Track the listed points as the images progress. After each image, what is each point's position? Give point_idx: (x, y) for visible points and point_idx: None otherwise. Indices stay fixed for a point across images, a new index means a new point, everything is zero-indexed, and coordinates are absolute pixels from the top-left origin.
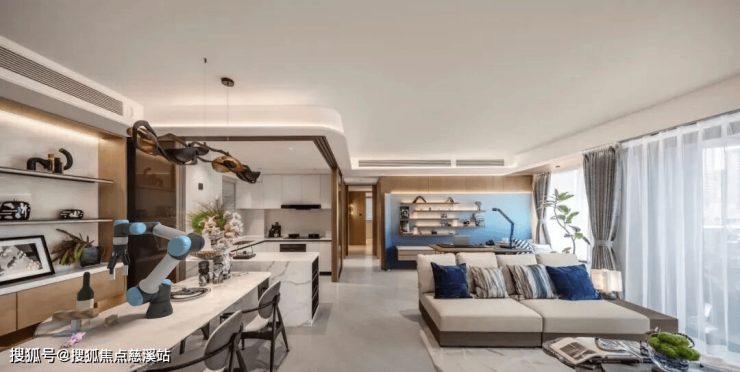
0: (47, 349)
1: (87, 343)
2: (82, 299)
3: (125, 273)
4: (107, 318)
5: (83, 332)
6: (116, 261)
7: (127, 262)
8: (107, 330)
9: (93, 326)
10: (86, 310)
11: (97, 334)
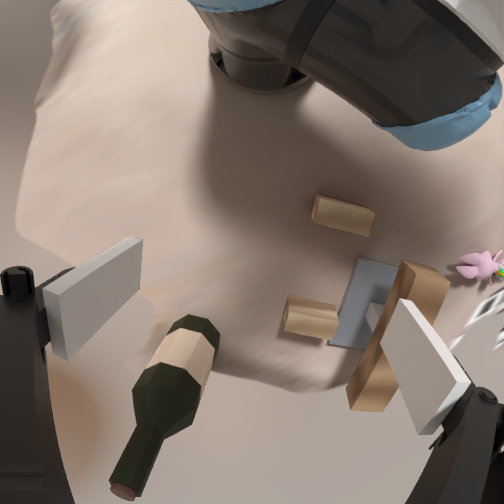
0: (484, 310)
1: (501, 225)
2: (199, 395)
3: (131, 265)
4: (371, 226)
5: (472, 260)
6: (475, 490)
7: (18, 324)
8: (413, 202)
9: (360, 266)
10: (433, 311)
11: (440, 223)
